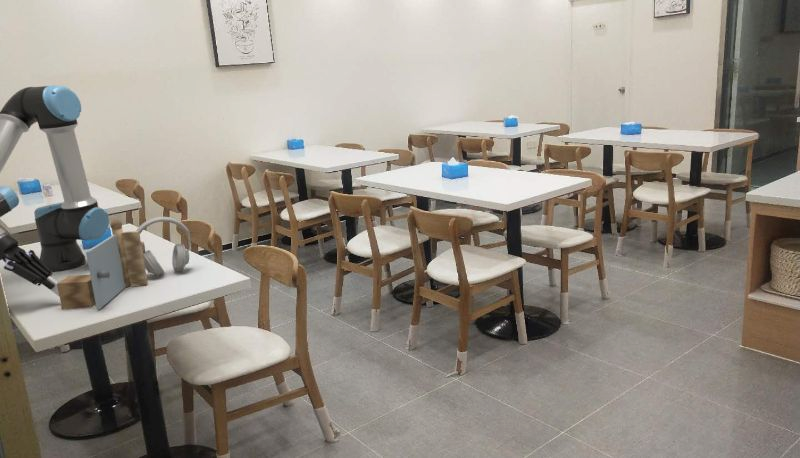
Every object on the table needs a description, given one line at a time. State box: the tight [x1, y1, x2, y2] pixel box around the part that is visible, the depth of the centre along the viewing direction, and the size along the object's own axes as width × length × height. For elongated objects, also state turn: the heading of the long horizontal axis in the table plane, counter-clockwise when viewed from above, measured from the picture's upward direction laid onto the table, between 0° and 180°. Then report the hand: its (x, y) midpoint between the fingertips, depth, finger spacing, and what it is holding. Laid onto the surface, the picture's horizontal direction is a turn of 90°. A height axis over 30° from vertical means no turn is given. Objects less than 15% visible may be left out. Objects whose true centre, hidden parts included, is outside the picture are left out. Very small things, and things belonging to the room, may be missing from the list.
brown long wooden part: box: [109, 219, 149, 289], centre depth 196 cm, size 8×3×22 cm, turn 93°
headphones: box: [135, 216, 192, 277], centre depth 207 cm, size 19×9×20 cm, turn 120°
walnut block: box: [57, 274, 96, 310], centre depth 184 cm, size 9×7×8 cm
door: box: [85, 234, 127, 310], centre depth 186 cm, size 4×20×18 cm, turn 3°
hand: (64, 293), depth 186 cm, fingers closed
